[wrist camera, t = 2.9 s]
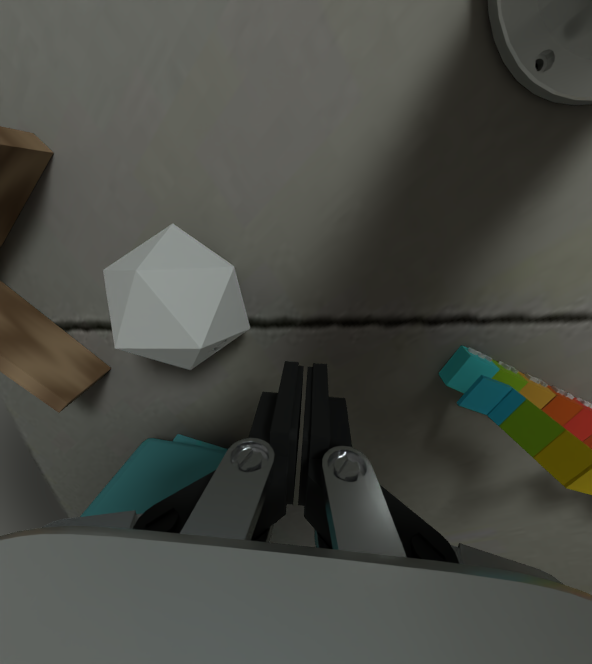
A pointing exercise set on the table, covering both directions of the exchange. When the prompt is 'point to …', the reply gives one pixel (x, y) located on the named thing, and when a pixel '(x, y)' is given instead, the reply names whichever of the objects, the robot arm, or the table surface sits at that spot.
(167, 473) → the radio
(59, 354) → the bracket
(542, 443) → the chart
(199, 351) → the die
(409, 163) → the table surface
